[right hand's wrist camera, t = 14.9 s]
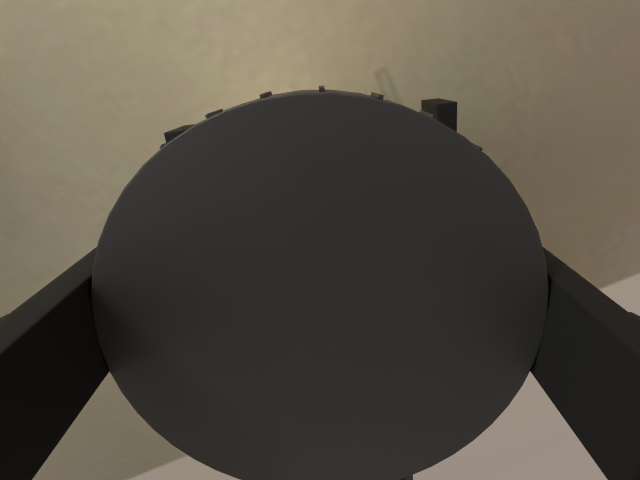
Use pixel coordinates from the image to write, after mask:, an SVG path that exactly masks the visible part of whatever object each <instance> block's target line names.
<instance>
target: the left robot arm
mask: <svg viewBox="0 0 640 480" xmlns="http://www.w3.org/2000/svg"><path fill="white" fill-rule="evenodd" d="M422 111H424V112H427V113H430V114H433V115H435V116H437V117H438V118H437V121H439V122H440V123H442V124H444V125H445V126H447V127H449V128H450V129H452V130H454V131H455V132H457V102H454V101H449V100H444V99H429V100H422ZM194 125H195V124H194ZM194 125H185V126H182V127H179V128H177V129H174V130H171V131H168V132H166V133H164V135H165V139H166V143H167V142H169V141H171V140H173V139H174V138H176V137H177V136H179V135H180V134H182V133H183V132H185V131H186V130H188V129H189V128H191V127H192V126H194ZM398 480H413V475H410V476H408V477H405V478H401V479H398Z"/></svg>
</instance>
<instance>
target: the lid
mask: <svg viewBox="0 0 640 480" xmlns="http://www.w3.org/2000/svg"><path fill="white" fill-rule="evenodd" d="M383 97H384V96H383V95H380V94H377V93H374V92H372V94H371V96H369V95H365V94H361V93H354V92H345V91H337V90H324V86H319V90H299V91H293V92H287V93H281V94H275V95H272V93H271V91H270V92H266V93H263V94H260V99H256V100H253V101H250V102H247V103H244V104H240V105H238V106H235V107H232V108H229V109H227V110H225V111H223V110H222V109H220V110H217V111H214V112H211V113H209V114H207V115H205V116H206V118H207V119H206V120H203V121H201V122H199V123H197V124H195V125H194V126H192V127H191V128H189V129H188V130H186V131H185V132H183V133H182V134H180V135H179V136H177V137H176V138H174V139H173V140H171V141H169V142H167V143H165V144H162V145H161V146H160V148H161V149H160V150H159V151H158V152H157V153H156V154H155V155H154V156H153V157H151V158H150V159H149V160H148V161H147V162H146V163H145V164H144V165H143V166H142V167H141V168H140V170H139V171H138V172H137V173H136V175H135V176H134V177H133V178H132V180H131V181H130V182H129V183H128V184H127V186H126V187H125V188H124V190H123V191H122V193H121V195H120V197H119V198H118V200H117V202H116V203H115V205H114V207H113V209H112V210H111V212H110V214H109V216H108V218H107V221H106V224H105V226H104V229H103V231H102V234H101V237H100V239H99V242H98V247H97V251H96V256H95V260H94V265H93V273H92V290H91V299H92V310H93V320H94V325H95V329H96V333H97V338H98V342H99V346H100V349H101V351H102V354H103V356H104V358H105V361H106V363H107V366H108V368H109V371H110V372H111V374H112V376H113V378H114V379H115V381H116V383H117V385H118V386H119V388H120V390H121V392H122V393H123V394H124V396H125V397H126V398H127V400H128V401H129V402H130V404H131V405H132V406H133V408H134V409H135V410H136V412H137V413H138V414H139V415H140V416H141V417H142V418H143V419H144V420H145V421H146V422H147V423H148V424H149V425H150V426H151V427H152V428H153V429H154V430H155V431H156V432H157V433H159V434H160V435H161V436H162V437H163V438H165V439H166V440H167V441H168V442H170V443H171V444H172V445H173V446H175V447H176V448H178V449H179V450H181V451H182V452H184V453H186V454H187V455H189V456H190V457H192V458H193V459H195V460H197V461H199V462H201V463H203V464H205V465H207V466H209V467H211V468H213V469H215V470H217V471H220V472H222V473H225V474H227V475H230V476H233V477H235V478H238V479H241V480H398V479H401V478H405V477H408V476H410V475H413V474H415V473H417V472H420V471H422V470H425V469H427V468H429V467H431V466H433V465H435V464H437V463H439V462H441V461H442V460H444V459H446V458H448V457H450V456H451V455H453V454H455V453H456V452H457V451H459V450H460V449H462V448H463V447H465V446H466V445H467V444H469V443H470V442H472V441H473V440H474V439H475V438H477V437H478V436H479V435H480V434H481V433H482V432H483V431H484V430H485V429H487V428H488V427H489V426H490V425H491V424H492V423H493V422H494V421H495V420H496V419H497V418H498V416H499V415H500V414H501V413H502V412H503V411H504V410H505V409H506V408H507V406H508V405H509V404H510V402H511V401H512V399H513V398H514V397H515V395H516V394H517V392H518V391H519V389H520V388H521V387H522V385H523V383H524V381H525V379H526V377H527V375H528V373H529V371H530V370H531V368H532V366H533V364H534V361H535V358H536V356H537V353H538V350H539V347H540V344H541V341H542V337H543V332H544V327H545V323H546V318H547V312H548V290H549V286H548V277H547V268H546V259H545V255H544V252H543V248H542V244H541V241H540V237H539V233H538V231H537V228H536V226H535V224H534V222H533V219H532V217H531V215H530V213H529V211H528V208H527V206H526V205H525V203H524V201H523V200H522V198H521V197H520V195H519V194H518V192H517V191H516V189H515V187H514V186H513V185H512V183H511V181H510V180H509V179H508V178H507V177H506V176H505V175H504V173H503V172H502V171H501V170H500V169H499V168H498V167H497V166H496V165H495V163H494V162H493V161H492V160H491V159H490V158H489V157H488V156H487V155H486V154H484V153H483V152H482V150H483V149H482V148H481V147H479V146H477V145H475V144H473V143H471V142H470V141H469V140H467V139H466V138H465V137H464V136H462V135H460V134H459V133H457V132H455V131H454V130H452V129H450V128H449V127H447V126H445V125H444V124H442V123H440V122H439V121H437V118H438V117H437V116H435V115H433V114H430V113H427V112H424V111H421V110H420V112H417V111H414V110H412V109H409V108H407V107H405V106H402V105H399V104H397V103H394V102H391V101H388V100H384V99H383Z"/></svg>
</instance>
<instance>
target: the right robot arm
mask: <svg viewBox="0 0 640 480" xmlns="http://www.w3.org/2000/svg"><path fill="white" fill-rule="evenodd" d="M97 247H98V246H97ZM97 247H96V248H95V249H94V250H92V251H91V252H90V253H88V254H87V255H86V256H84V257H83V258H82V259H80V260H79V261H78V262H77V263H75V264H74V265H73V266H71V267H70V268H69V269H67V270H66V271H65V272H63V273H62V274H61V275H60V276H58V277H57V278H56V279H54V280H53V281H52V282H50V283H49V284H48V285H46V286H45V287H44V288H43V289H41V290H40V291H39V292H37V293H36V294H35V295H33V296H32V297H31V298H29V299H28V300H27V301H26V302H24V303H23V304H22V305H20V306H19V307H18V308H16V309H15V310H14V311H13V312H11V313H10V314H7V315H5V316H3V317H1V318H0V480H32V479H33V477H34V476H35V475H36V473H37V472H38V470H39V469H40V468H41V466H42V465H43V463H44V462H45V461H46V459H47V458H48V456H49V455H50V454H51V452H52V451H53V449H54V448H55V447H56V445H57V444H58V442H59V441H60V440H61V438H62V437H63V435H64V434H65V433H66V431H67V430H68V428H69V427H70V426H71V424H72V423H73V421H74V420H75V419H76V417H77V416H78V414H79V413H80V412H81V410H82V409H83V407H84V406H85V405H86V403H87V402H88V400H89V399H90V398H91V396H92V395H93V393H94V392H95V391H96V389H97V388H98V386H99V385H100V384H101V382H102V381H103V379H104V378H105V377H106V375H107V374H108V372H109V368H108V366H107V363H106V361H105V358H104V356H103V354H102V351H101V349H100V346H99V342H98V338H97V333H96V329H95V325H94V320H93V310H92V299H91V290H92V273H93V265H94V260H95V256H96V251H97ZM542 248H543V252H544V255H545V259H546V268H547V277H548V286H549V290H548V312H547V318H546V323H545V327H544V332H543V337H542V341H541V344H540V347H539V350H538V353H537V356H536V358H535V361H534V364H533V366H532V368H531V370H530V371H531V373H532V374H533V376H534V377H535V378H536V380H537V381H538V382H539V384H540V385H541V387H542V388H543V389H544V391H545V392H546V394H547V395H548V397H549V398H550V399H551V401H552V402H553V403H554V405H555V406H556V408H557V409H558V411H559V412H560V413H561V415H562V416H563V418H564V419H565V420H566V422H567V423H568V425H569V426H570V427H571V429H572V430H573V432H574V433H575V434H576V436H577V437H578V439H579V440H580V441H581V443H582V444H583V446H584V447H585V448H586V450H587V451H588V453H589V454H590V455H591V457H592V458H593V460H594V461H595V462H596V464H597V465H598V466H599V468H600V469H601V471H602V472H603V474H604V475H605V476H606V478H607V479H608V480H640V316H638V315H636V314H634V313H632V312H627V311H626V310H625V309H623V308H622V307H621V306H619V305H618V304H617V303H615V302H614V301H613V300H611V299H610V298H609V297H608V296H606V295H605V294H604V293H602V292H601V291H600V290H598V289H597V288H596V287H595V286H593V285H592V284H591V283H589V282H588V281H587V280H585V279H584V278H583V277H581V276H580V275H579V274H578V273H576V272H575V271H574V270H572V269H571V268H570V267H568V266H567V265H566V264H564V263H563V262H562V261H561V260H559V259H558V258H557V257H555V256H554V255H553V254H551V253H550V252H549V251H547V250H546V249H545V248H544V247H542Z"/></svg>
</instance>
